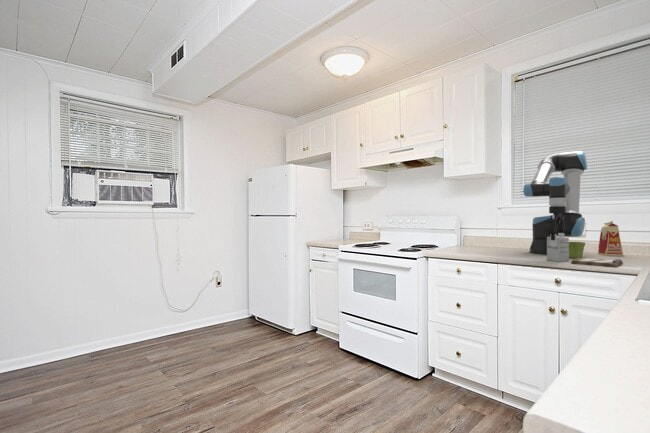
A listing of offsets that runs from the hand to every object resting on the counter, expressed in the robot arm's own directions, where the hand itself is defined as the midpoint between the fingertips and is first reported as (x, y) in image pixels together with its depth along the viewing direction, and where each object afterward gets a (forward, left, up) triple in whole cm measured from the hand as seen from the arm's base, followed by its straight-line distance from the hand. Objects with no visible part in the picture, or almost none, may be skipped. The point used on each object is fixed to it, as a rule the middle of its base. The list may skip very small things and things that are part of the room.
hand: (557, 245), depth 192 cm
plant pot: (+4, +18, -8) cm, 21 cm away
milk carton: (+15, +44, -8) cm, 48 cm away
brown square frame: (+17, 0, -8) cm, 19 cm away
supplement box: (0, 0, -8) cm, 8 cm away
